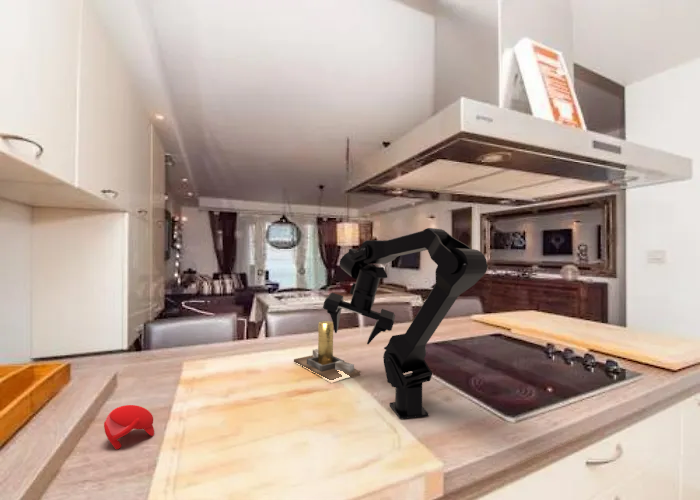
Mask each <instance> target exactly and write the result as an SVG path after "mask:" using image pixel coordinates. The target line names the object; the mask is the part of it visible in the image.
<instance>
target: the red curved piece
mask: <svg viewBox="0 0 700 500" xmlns="http://www.w3.org/2000/svg"><path fill="white" fill-rule="evenodd" d="M153 424H154V415H153V414H152V413H151V412H150V411H149V410H148V409H147V408H145V407H143V406H140V405H135V404H127V405H122V406H119V407H116V408H114V409H112V410H111V411H110V412H109V413H108V415H107V417H106V418H105V421H104V422H103V428H104V429H103V430H104V433H105V436H106V438H107V439H108V441H109V442H110V444H111V445H112V446H113V448H114V449H115V450H119V449H120V448H121V447H122V444H121V442H120V441H119V439H120V438H122V437H124V436H126V435H128V434H129V433H131V432H132V431H133V430H144V432H146V433H147V434H148V435H149V436H150V437H153V436H154V435H155V428H154V426H153Z"/></svg>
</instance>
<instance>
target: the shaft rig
mask: <svg viewBox="0 0 700 500" xmlns="http://www.w3.org/2000/svg"><path fill="white" fill-rule="evenodd" d="M294 362H296V363H298V364H300V365H302V366H304V367H306V368H308V369H310V370H311V371H313V372H315V373H317V374H319V375H321V376H323V377H325V378H327V379H329V380H334V379H336V378H339V377H342V375H341V374H339V373H338V372H339V371H337V370H340V371H343V372H344V373H345V374H347V375H349V376H350V377H351V378H354V377H357V376H360V375H361V371H360V370H358V369H355V364H354V363H350V362H346V361H345V360H343V359H341V358H339V357H336V356H335V355H333V363H329V364H325V365H321V364H319V363H318V348H317V349H316V348H315V349H312V355H308V356H303V357H299V358H298V357H297V358H294V359H293V363H294ZM296 363H295V364H296ZM298 364H297V365H298Z"/></svg>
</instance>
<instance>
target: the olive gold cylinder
mask: <svg viewBox="0 0 700 500" xmlns="http://www.w3.org/2000/svg"><path fill="white" fill-rule="evenodd" d="M317 329H318V330H317V331H318V332H317V334H318V337H317V340H318V342H317V343H318V345H317V347H318V348H317V349H318V363H319V364H321V365H325V364H329V363H333V356H334V326H333V321H332V320H324V321H319V322H318V328H317Z"/></svg>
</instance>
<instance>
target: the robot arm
mask: <svg viewBox="0 0 700 500" xmlns="http://www.w3.org/2000/svg"><path fill="white" fill-rule="evenodd" d="M424 251H425V252H426V251H427V252H428V254H429V257H430V259H431V260H432V261H433V262H434V263H435V264H436V265H437V266H436V268H435V284H434V286H433V287H432V289H431V291H430V293H429V294H428V296H427V297H426V299H425V300H424V302H423V304H422V306H421V307H420V309H419V310H418V312H417V314H416V316H414V318H413V320H412V322H411V324H410V325H409V326H408V329H407V330H406V332H405V333H401V334H395V335H392V336H391V337H390V339H389V340H388V343H387V345H386V346H384V347H383V349H384V350H385V351H384V352H383V357H382V358H383V367H384V371H385V376H386V381H387V384H390V386H391V387H392V388H395V392H394V393H395V399H394V401H393V402H392V401H391V402H389V406H390V407H391V409H392V410H393V411H394V413H395V414H396V415H397V416H398V418H399V419H400V420H405V419H412V418H424V417H429V414H430V413H429V412H428V411H427V410H426V409H425V408H424V407H423V384H424V383H427V382H431V380H432V376H433V372H432V370H431V368H430V367H429V364H428V363H427V361H426V360H425V359H426V356H427V353H426V352H427V349H426V346H427V344H428V342H429V341H430V340H431V338H432V336H433V335H434V333H435V332H436V331H437V329H438V327H439V326H440V324H441V323H442V321H443V319H445V317H446V315H447V314H448V313H449V311H450V310H451V308H452V307H453V305H454V303H455V302H456V301H457V299H458V297H459V296H460V295H462V294H464V293H465V292H466V291H468V290H469V289H470V288H472V287H474V286H475V284H477V283H478V281H480V280H481V279H482V278H483V277H484V276H485V274H486V272H487V271H488V266H489V265H488V262H487V258H486V256H485V254H484V253H483V252H482V251H480V250H478V249H475V248H472V247H470V246H469V245H468V244H466V243H464V242H462V241H460V240H459V239H457V238H455V237H454V236H452V235H451V234H449V232H447V231H446V230H445V229H442V228H435V227H434V228H433V227H427V228H425V229H423V230H421V231H417V232H413V233H409V234H406V235H403V236H398V237H395V238H391V239H388V240H387V239H386V240H383V239H382V240H381V239H379V240H378V239H377V240H376V239H375V240H371V239H366V240H363V242H362V245H361V246H360V247H359V248H358V249H356V248H348V252H346V253H345V254H344V255H343V256H342V257H341V258H340V260H339V268H341V270H343V271H344V272H345V273H346V274H347V275H349V276H350V277H351V278H352V279H356V282H353V283H352V286H351V287H350V290H349V294H350V295H352V296H351V300H350V302H348V301H344V295H341V294H337V293H335V292H330V293H329V294H328V295H327V297H326V298H325V300H324V302H323V306H322V308H323V309H324V310H326V312H327V314H329V316H330V318H331V322H333V332H334V333H335V334H337V333H338V329H339V328H340V327H339V326H340V319H341V314H342V313H341V312H342V309H343V310H345V311H348V312H352V313H354V314H358V315H362V316H364V317H367V318H370V319H373V320H376V321H375V324H374V325H373V327H372V330H371V332H370V334H369V337H368V339H367V343H366V345H369V344H370V343H371V342H372V341H373V340H374V339H375V337H376V336H378V335H379V334H380V333H381V332H383V333H384V332H385V333H386V331H388V332H390V331H392V329H393V327H394V324H395V319H396V315H395V314H396V313H394V312H393V311H391V310H386V309H384V308H381V310H380V312H377V311H376V310H372V308H373V307H374V302H375V300H376V294H377V291H378V287H379V284H380V281H381V279H387V278H388V274H387V272H386V271H385V268H384V267H383V266H377V265H378V264H380V265H384V264H385V265H386V264H388V263H390V262H394V261H395V259H396V258H398V257H399V256H405V255H410V254H413V253H414V254H416V253H419V252H424ZM376 264H377V265H376Z"/></svg>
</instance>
